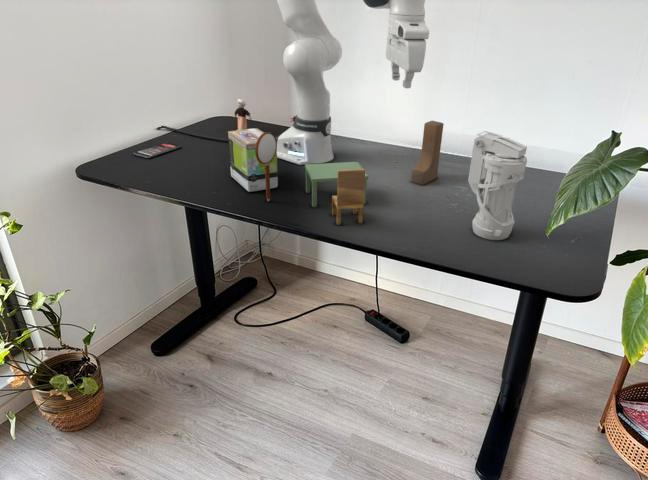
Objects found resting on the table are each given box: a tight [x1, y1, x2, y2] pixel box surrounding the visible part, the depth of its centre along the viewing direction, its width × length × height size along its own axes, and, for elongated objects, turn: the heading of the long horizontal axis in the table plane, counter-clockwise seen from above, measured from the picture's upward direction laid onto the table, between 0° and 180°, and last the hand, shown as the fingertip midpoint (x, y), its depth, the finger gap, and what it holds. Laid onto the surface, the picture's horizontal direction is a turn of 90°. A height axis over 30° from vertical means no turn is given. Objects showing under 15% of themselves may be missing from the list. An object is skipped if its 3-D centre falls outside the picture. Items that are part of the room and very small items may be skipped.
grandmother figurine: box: [233, 98, 253, 130], centre depth 208 cm, size 8×4×13 cm, turn 81°
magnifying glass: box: [255, 131, 277, 202], centre depth 150 cm, size 9×2×20 cm, turn 149°
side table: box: [304, 161, 369, 208], centre depth 157 cm, size 12×16×8 cm
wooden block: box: [410, 120, 445, 186], centre depth 169 cm, size 9×4×18 cm, turn 141°
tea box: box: [227, 127, 279, 193], centre depth 163 cm, size 15×10×15 cm, turn 31°
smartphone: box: [133, 141, 181, 159], centre depth 188 cm, size 7×1×15 cm
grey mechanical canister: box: [467, 130, 528, 241], centre depth 137 cm, size 13×10×25 cm
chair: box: [331, 168, 366, 226], centre depth 143 cm, size 7×7×15 cm
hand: (400, 83), depth 142 cm, fingers open, 8 cm apart
